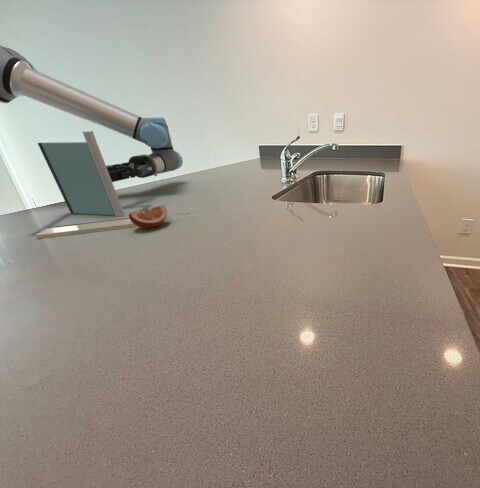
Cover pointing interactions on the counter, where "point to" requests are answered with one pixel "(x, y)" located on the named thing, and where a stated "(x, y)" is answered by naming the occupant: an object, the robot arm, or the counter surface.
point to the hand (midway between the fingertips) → (87, 177)
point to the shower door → (77, 177)
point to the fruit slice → (149, 217)
